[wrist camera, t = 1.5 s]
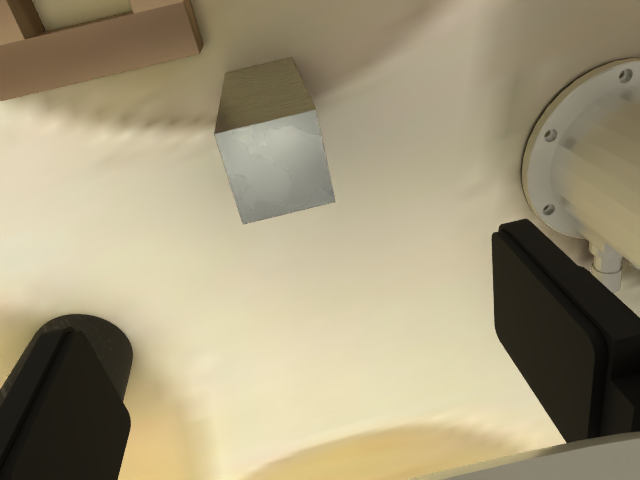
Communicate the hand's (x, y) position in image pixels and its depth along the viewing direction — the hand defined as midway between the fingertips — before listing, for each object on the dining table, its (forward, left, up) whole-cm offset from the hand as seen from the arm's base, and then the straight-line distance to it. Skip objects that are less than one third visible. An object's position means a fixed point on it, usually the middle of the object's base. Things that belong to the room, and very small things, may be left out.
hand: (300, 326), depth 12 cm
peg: (0, 0, -22) cm, 22 cm away
